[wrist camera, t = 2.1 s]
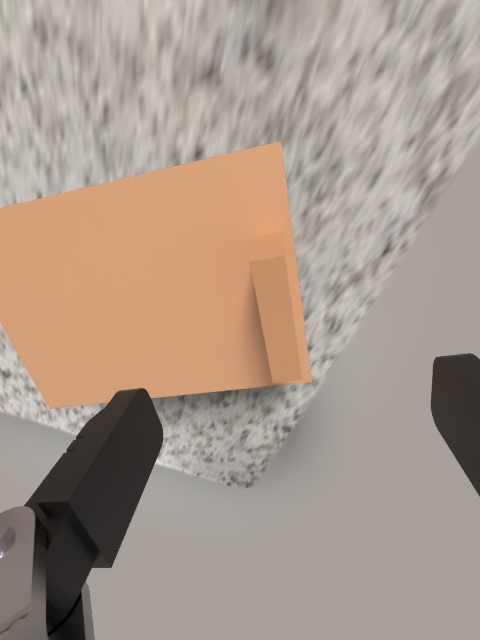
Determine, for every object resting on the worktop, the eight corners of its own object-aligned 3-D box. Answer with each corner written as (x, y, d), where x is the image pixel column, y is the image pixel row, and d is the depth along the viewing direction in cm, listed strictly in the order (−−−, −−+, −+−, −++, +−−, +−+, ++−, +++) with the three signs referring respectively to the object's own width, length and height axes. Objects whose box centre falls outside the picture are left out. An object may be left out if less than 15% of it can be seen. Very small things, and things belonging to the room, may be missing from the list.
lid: (62, 395, 26) (-7, 467, 20) (-35, 218, 20) (-177, 239, 14) (309, 368, 23) (323, 445, 16) (280, 143, 17) (284, 125, 10)
